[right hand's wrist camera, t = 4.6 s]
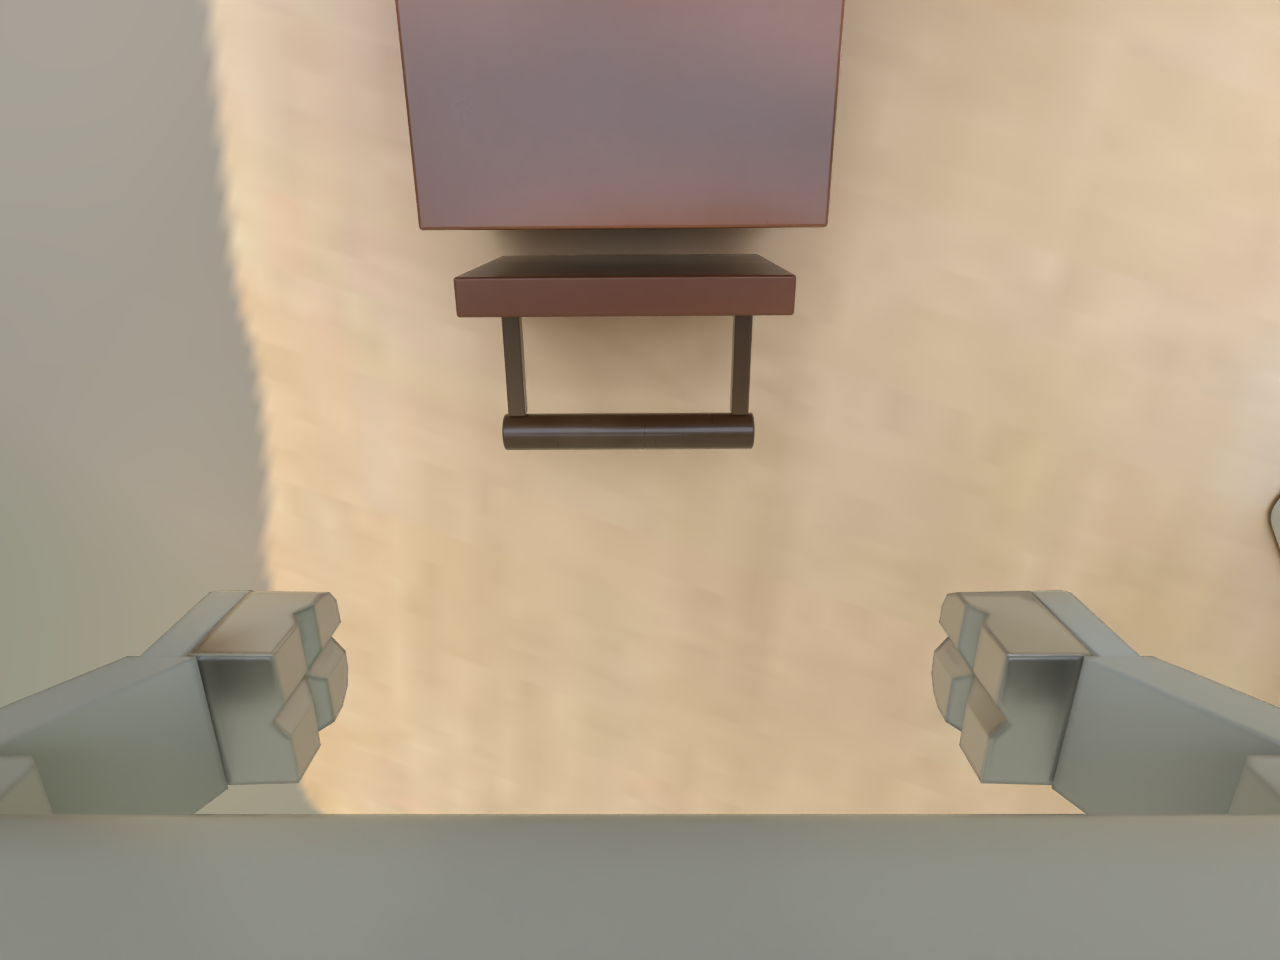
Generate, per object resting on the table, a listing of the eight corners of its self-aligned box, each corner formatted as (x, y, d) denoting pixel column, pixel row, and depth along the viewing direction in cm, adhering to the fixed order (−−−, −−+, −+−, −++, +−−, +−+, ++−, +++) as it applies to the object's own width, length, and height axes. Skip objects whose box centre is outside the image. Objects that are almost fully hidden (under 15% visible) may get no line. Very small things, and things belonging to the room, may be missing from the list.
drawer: (751, 407, 33) (784, 473, 25) (511, 408, 33) (471, 474, 25) (784, -308, 24) (848, -539, 17) (461, -303, 24) (377, -531, 17)
